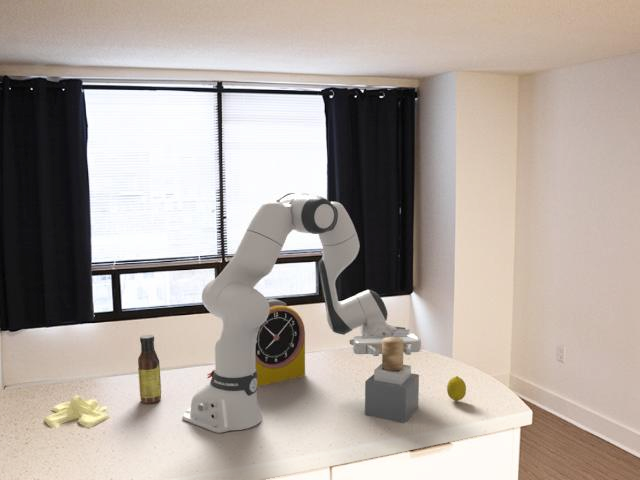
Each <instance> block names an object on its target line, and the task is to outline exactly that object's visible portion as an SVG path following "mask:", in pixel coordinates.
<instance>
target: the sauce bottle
mask: <svg viewBox="0 0 640 480" xmlns="http://www.w3.org/2000/svg"><path fill="white" fill-rule="evenodd" d="M154 341H155V335H153V334H144V335H141V336H140V337H139V342H140V346H141V348H140V351H141V352H140V354H139V356H138V358H137V361H138V362H137V364H138V365H137V366H138V368H137V370H138V385H139V386H138V387H139V396H140V401H141V402H142V403H143V404H155V403H157V402H159V401H161V399H162V381H161V367H160V359H159V357H158V355H157V352H156V349H155V342H154Z"/></svg>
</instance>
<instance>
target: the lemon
mask: <svg viewBox="0 0 640 480" xmlns="http://www.w3.org/2000/svg"><path fill="white" fill-rule="evenodd" d="M446 386H447V387H446V392H447V395H448V397H449V399H451V400H453V402H456V403H458V401H460V400H463V399H464V398H465V396H466V393H467V388H466V387H467V386H466V382H465V381H464V379H462V378H461V377H459V376H456V375H455V376H454V377H451V378H450V379H449V380H448V382H447V385H446Z"/></svg>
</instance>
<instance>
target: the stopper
mask: <svg viewBox="0 0 640 480" xmlns="http://www.w3.org/2000/svg"><path fill="white" fill-rule="evenodd" d="M381 360H382V361H381V364H382V368H383V369H385V370H388V371H394V372H399V371H400V370H401V369H403V365H404V353H403V339H401V338H397V337H387V338H384V339H382V354H381Z"/></svg>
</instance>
